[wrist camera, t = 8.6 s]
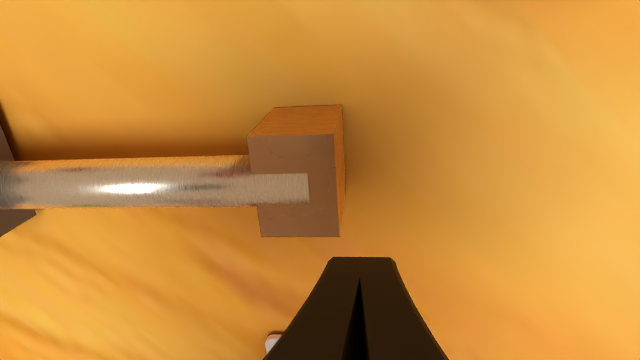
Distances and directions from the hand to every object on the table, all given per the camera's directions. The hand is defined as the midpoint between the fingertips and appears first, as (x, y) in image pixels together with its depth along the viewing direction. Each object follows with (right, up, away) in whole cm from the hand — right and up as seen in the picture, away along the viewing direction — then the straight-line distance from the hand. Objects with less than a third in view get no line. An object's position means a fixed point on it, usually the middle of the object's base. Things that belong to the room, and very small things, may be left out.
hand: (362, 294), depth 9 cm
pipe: (-11, +4, +11) cm, 16 cm away
